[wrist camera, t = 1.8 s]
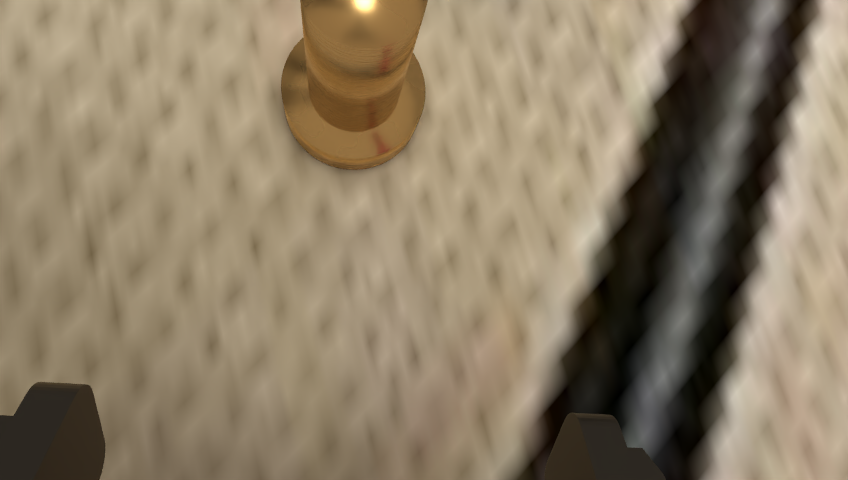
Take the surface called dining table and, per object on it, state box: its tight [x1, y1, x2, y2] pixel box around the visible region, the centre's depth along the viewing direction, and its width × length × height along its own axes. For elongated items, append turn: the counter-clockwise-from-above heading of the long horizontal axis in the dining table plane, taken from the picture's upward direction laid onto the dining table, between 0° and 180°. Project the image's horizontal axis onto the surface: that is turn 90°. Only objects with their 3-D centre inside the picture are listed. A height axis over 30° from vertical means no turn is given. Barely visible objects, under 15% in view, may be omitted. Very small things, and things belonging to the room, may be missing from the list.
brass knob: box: [281, 0, 427, 170], centre depth 24 cm, size 6×6×10 cm
